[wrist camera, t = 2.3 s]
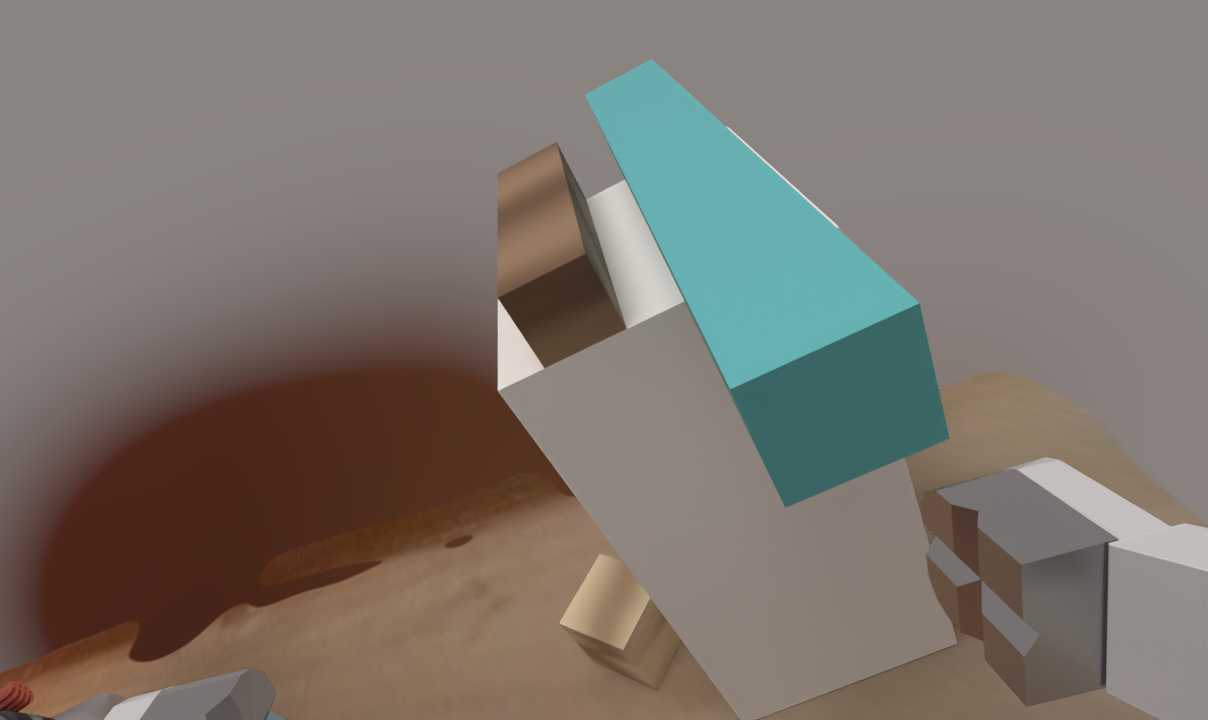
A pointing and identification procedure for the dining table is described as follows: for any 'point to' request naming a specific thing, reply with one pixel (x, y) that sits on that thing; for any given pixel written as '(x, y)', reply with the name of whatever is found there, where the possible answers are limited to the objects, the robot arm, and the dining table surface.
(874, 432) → the teal bar
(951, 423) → the dining table surface
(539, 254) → the walnut rail
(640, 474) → the pedestal
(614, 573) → the oak cube
